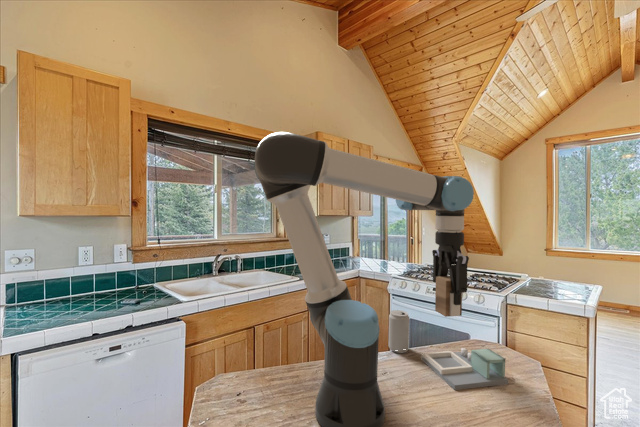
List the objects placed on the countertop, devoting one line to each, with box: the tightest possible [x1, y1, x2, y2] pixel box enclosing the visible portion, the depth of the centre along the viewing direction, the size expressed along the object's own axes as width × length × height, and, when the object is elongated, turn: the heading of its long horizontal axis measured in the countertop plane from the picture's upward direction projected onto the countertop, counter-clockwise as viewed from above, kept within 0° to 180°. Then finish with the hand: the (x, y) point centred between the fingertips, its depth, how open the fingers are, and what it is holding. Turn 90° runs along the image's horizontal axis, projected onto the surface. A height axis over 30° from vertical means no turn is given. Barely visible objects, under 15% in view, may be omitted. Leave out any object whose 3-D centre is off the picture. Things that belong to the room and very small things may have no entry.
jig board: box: [420, 347, 509, 391], centre depth 86 cm, size 16×16×3 cm
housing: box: [470, 348, 506, 379], centre depth 83 cm, size 6×6×5 cm
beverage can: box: [387, 309, 410, 354], centre depth 98 cm, size 6×6×12 cm
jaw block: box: [434, 275, 463, 318], centre depth 86 cm, size 5×5×10 cm
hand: (448, 311), depth 87 cm, fingers closed on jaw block, 5 cm apart
